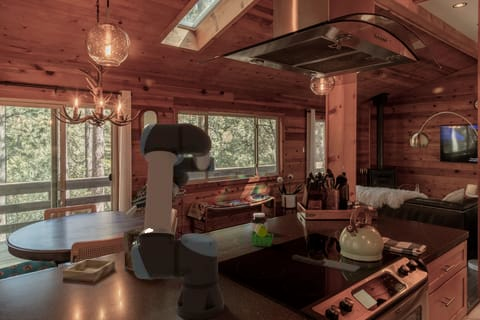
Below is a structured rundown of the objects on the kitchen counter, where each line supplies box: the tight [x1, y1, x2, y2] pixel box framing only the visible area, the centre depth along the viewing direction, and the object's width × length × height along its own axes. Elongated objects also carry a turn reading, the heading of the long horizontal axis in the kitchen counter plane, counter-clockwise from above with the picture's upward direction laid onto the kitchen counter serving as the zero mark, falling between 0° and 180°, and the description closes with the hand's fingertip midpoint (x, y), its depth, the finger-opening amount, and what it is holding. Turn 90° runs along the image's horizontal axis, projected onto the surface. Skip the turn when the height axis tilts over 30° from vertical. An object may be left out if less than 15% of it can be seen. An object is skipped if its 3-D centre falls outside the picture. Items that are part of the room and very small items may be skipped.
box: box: [62, 258, 116, 283], centre depth 137 cm, size 14×14×4 cm
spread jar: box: [250, 212, 269, 234], centre depth 197 cm, size 12×11×12 cm
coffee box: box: [123, 228, 144, 272], centre depth 143 cm, size 9×6×16 cm
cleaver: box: [291, 254, 362, 273], centre depth 147 cm, size 30×10×2 cm, turn 58°
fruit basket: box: [250, 225, 274, 247], centre depth 175 cm, size 11×9×11 cm
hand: (139, 221), depth 141 cm, fingers open, 13 cm apart
